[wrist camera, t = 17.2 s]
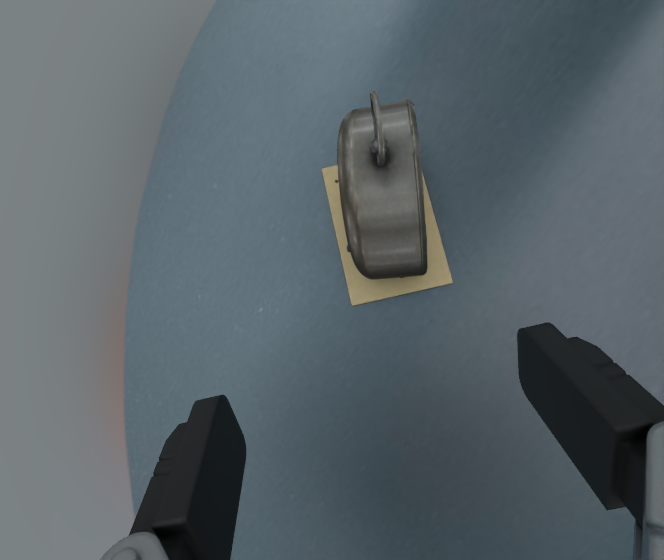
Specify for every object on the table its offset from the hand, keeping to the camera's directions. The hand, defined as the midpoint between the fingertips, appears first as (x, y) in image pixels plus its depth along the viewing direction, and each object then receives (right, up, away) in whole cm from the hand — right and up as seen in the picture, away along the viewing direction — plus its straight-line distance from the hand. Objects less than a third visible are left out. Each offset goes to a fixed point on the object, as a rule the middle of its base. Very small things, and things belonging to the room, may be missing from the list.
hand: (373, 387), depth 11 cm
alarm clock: (+3, +7, +22) cm, 24 cm away
